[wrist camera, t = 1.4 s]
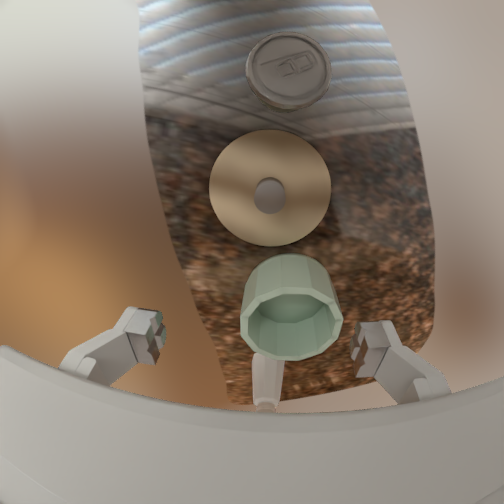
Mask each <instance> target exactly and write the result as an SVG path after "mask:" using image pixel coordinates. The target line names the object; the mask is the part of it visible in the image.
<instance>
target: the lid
mask: <svg viewBox="0 0 504 504" xmlns="http://www.w3.org/2000/svg"><path fill="white" fill-rule="evenodd" d="M209 194H210V200H211V204H212V207H213V209H214V212H215V213H216V215H217V217H218V219H219V220H220V221H221V223H222V224H223V225H224V226H225V227H226V228H227V229H228V230H229V231H230V232H231V233H232V234H234V235H235V236H237V237H238V238H240V239H242V240H244V241H246V242H249V243H252V244H256V245H260V246H281V245H286V244H290V243H292V242H295V241H297V240H299V239H301V238H303V237H305V236H306V235H307V234H309V233H310V232H311V231H312V230H313V229H315V228H316V226H317V225H318V224H319V223H320V222H321V220H322V218H323V217H324V215H325V213H326V211H327V209H328V206H329V202H330V197H331V180H330V175H329V171H328V169H327V166H326V164H325V162H324V160H323V159H322V157H321V156H320V154H319V153H318V152H317V151H316V150H315V149H314V148H313V147H312V146H311V145H310V144H309V143H308V142H306V141H305V140H304V139H302V138H300V137H298V136H296V135H294V134H291V133H289V132H285V131H281V130H272V129H270V130H259V131H254V132H251V133H247V134H245V135H243V136H241V137H239V138H237V139H236V140H234V141H233V142H232V143H230V144H229V145H228V146H227V147H226V148H225V149H224V150H223V151H222V152H221V154H220V155H219V157H218V158H217V160H216V162H215V164H214V166H213V168H212V172H211V175H210V181H209Z"/></svg>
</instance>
